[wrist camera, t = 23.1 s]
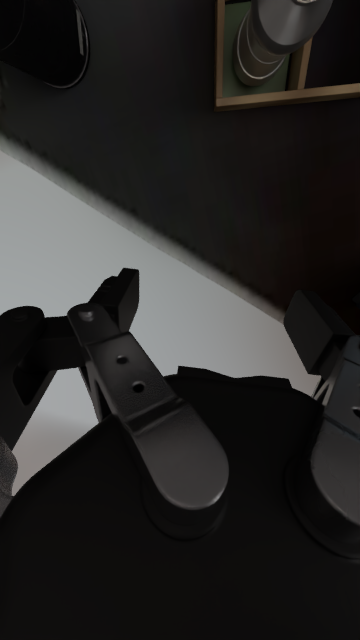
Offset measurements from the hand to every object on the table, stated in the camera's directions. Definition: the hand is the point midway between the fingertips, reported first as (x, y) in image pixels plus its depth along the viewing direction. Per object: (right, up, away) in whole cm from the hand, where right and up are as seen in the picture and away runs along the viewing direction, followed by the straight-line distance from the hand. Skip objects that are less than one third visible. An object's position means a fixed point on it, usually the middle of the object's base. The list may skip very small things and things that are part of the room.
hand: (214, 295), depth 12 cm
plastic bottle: (+8, +33, +18) cm, 38 cm away
